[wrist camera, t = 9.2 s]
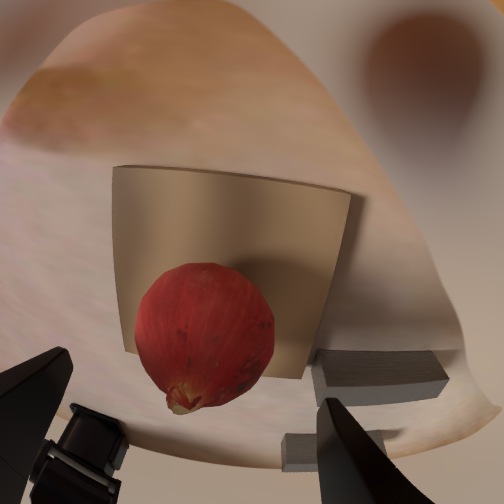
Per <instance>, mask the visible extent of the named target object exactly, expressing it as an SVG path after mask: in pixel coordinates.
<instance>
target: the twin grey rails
mask: <svg viewBox="0 0 504 504" xmlns="http://www.w3.org/2000/svg"><path fill="white" fill-rule="evenodd" d="M311 372H312V378H313V384H314V390H315V396H316V402H317V407H320V406H321V404H322V402H323V400H324V399H325V398H327V397H335V398H338V399H339V400H340V402H341V403H342V404H343V405H344V407H346V406H368V405H382V404H393V403H403V402H411V401H418V400H425V399H431V398H437V397H438V396H439V394H440V393H441V391H442V390H443V388H444V387H445V386H446V384H447V383H448V381H449V380H450V379H449V377H448V375H447V374H446V372H445V371H444V369H443V368H442V366H441V364H440V363H439V361H438V360H437V358H436V357H435V355H434V354H433V352H432V351H416V352H358V351H332V350H318V352H317V355H316V358H315V361H314V364H313V366H312V369H311ZM366 433H367V434H368V435H369V436H370V437H371V438H372V440H373V441H374V442H375V443H376V444H377V445H378V447H379V448H380V449H381V450H382V451H383V452H384V454H385V455H386V456H387V452H386V449H385V446H384V442H383V439H382V436H381V433H380V430H375V431H366ZM281 459H282V472H317V471H318V464H317V434H285V436H284V438H283V440H282V442H281Z"/></svg>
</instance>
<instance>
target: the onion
mask: <svg viewBox="0 0 504 504" xmlns="http://www.w3.org/2000/svg"><path fill="white" fill-rule="evenodd" d="M134 340H135V344H136V347H137V351H138V354H139V357H140V360H141V362H142V365H143V367H144V369H145V371H146V372H147V374H148V375H149V376H150V378H151V379H152V380H153V382H154V383H155V384H156V385H157V387H158V388H159V389H160V390H161V391H163V392H164V393H166V394H167V396H166V401H167V405H168V408H169V409H171V410H172V412H173V413H174V414H178V415H183V414H188V413H191V412H194V411H196V410H198V409H200V408H203V407H214V406H221V405H223V404H226V403H228V402H230V401H231V400H233V399H235V398H237V397H239V396H240V395H242V394H244V393H245V392H247V391H248V390H250V389H251V388H252V387H253V386H254V385H255V384H256V382H257V381H258V379H259V378H260V376H261V375H262V373H263V372H264V370H265V369H266V367H267V366H268V364H269V362H270V360H271V358H272V356H273V354H274V344H275V319H274V315H273V313H272V311H271V309H270V307H269V305H268V304H267V302H266V300H265V299H264V297H263V295H262V294H261V292H260V290H259V289H258V287H257V286H256V285H254V284H253V283H252V282H251V281H250V280H248V279H247V278H246V277H245V276H243V275H242V274H241V273H240V272H239V271H237V270H234V269H231V268H228V267H225V266H222V265H219V264H216V263H213V262H210V263H186V264H184V265H181V266H179V267H176V268H174V269H171V270H169V271H166V272H164V273H163V274H162V275H161V276H160V277H159V278H158V279H157V280H156V281H155V282H154V283H153V285H152V286H151V287H150V288H149V290H148V291H147V292H146V293H145V295H144V296H143V297H142V299H141V302H140V305H139V308H138V313H137V318H136V324H135V335H134Z"/></svg>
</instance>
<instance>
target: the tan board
mask: <svg viewBox="0 0 504 504" xmlns="http://www.w3.org/2000/svg"><path fill="white" fill-rule="evenodd" d="M350 199H351V194H349V193H348V192H346V191H344V190H340V189H335V188H329V187H324V186H318V185H313V184H307V183H301V182H295V181H288V180H282V179H275V178H268V177H261V176H253V175H245V174H237V173H228V172H219V171H209V170H198V169H186V168H173V167H157V166H137V165H123V166H117V167H113V176H112V238H113V257H114V271H115V282H116V292H117V300H118V308H119V316H120V323H121V329H122V335H123V341H124V347H125V351H126V352H130V353H134V354H138V351H137V347H136V344H135V340H134V335H135V324H136V318H137V313H138V308H139V305H140V302H141V299H142V297H143V296H144V295H145V293H146V292H147V291H148V290H149V288H150V287H151V286H152V285H153V283H154V282H155V281H156V280H157V279H158V278H159V277H160V276H161V275H162V274H163V273H164V272H166V271H169V270H171V269H174V268H176V267H179V266H181V265H184V264H186V263H210V262H213V263H216V264H219V265H222V266H225V267H228V268H231V269H234V270H237V271H239V272H240V273H241V274H242V275H243V276H245V277H246V278H247V279H248V280H250V281H251V282H252V283H253V284H254V285H256V286H257V287H258V289H259V290H260V292H261V294H262V295H263V297H264V299H265V300H266V302H267V304H268V305H269V307H270V309H271V311H272V313H273V315H274V319H275V344H274V354H273V356H272V358H271V360H270V362H269V364H268V366H267V367H266V369H265V370H264V372H263V373H262V375H261V376H265V377H276V378H288V379H302V376H303V373H304V370H305V367H306V364H307V361H308V358H309V355H310V352H311V349H312V346H313V343H314V340H315V337H316V334H317V330H318V327H319V324H320V321H321V317H322V314H323V311H324V307H325V304H326V300H327V296H328V293H329V289H330V286H331V282H332V278H333V274H334V270H335V266H336V262H337V258H338V254H339V250H340V246H341V242H342V237H343V233H344V228H345V224H346V219H347V214H348V209H349V204H350ZM138 355H139V354H138Z"/></svg>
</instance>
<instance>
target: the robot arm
mask: <svg viewBox="0 0 504 504" xmlns="http://www.w3.org/2000/svg"><path fill="white" fill-rule="evenodd" d="M72 372H73V363H72V360H71V357H70V354H69V352H68V350H67V349H65V348H62V347H60V346H58V347H55V348H53V349H51V350H49V351H46V352H44V353H42V354H40V355H38V356H36V357H34V358H31V359H29V360H27V361H25V362H23V363H21V364H19V365H16V366H14V367H12V368H10V369H8V370H6V371H4V372H1V373H0V504H20V503H21V499H22V496H23V493H24V490H25V487H26V484H27V481H28V478H29V475H30V478H29V481H30V482H32V483H33V484H34V486H33V488H32V491H31V493H30V502H31V504H117V499H118V495H119V490H120V486H121V481H120V480H118V479H114V478H112V476H113V473H114V471H115V470H117V471H118V470H120V467H121V464H122V462H123V459H124V457H125V454H126V451H127V449H129V444H128V442H127V440H126V437H125V435H124V433H123V430H122V428H121V426H120V423H119V422H118V421H116V420H114V419H111V418H108V417H106V416H103V415H100V414H97V413H95V412H92V411H90V410H87V409H85V408H82V407H80V406H78V405H75V404H73V403H71V404H70V408H71V410H72V412H73V416H72V418H71V419H70V421H69V423H68V425H67V426H66V428H65V430H64V432H63V434H62V435H61V437H60V439H59V441H58V443H57V444H56V443H55V442H54V441H53V440H52V439H51V440H50V441H49V440H46V439H44V438H45V436H46V433H47V431H48V429H49V427H50V424H51V422H52V420H53V418H54V416H55V414H56V412H57V410H58V408H59V405H60V403H61V401H62V398H63V396H64V393H65V390H66V387H67V385H68V382H69V380H70V377H71V374H72ZM50 454H51V455H53V456H54V459H53V458H52V457H50ZM317 464H318V473H319V482H320V491H321V500H322V504H435V503H434V502H432V501H431V500H430V499H429V498H427V497H426V496H425V495H424V494H423V493H421V492H420V491H419V490H418V489H417V488H416V487H415V486H414V485H413V484H412V483H411V482H410V481H409V480H408V479H407V478H406V477H405V476H404V475H403V474H402V473H401V472H400V471H399V469H398V468H396V466H395V465H394V464H393V463H392V462H391V460H390V459H389V458H388V457H387V456H386V455H385V454H384V452H383V451H382V450H381V449H380V448H379V447H378V445H377V444H376V443H375V442H374V441H373V440H372V438H371V437H370V436H369V435H368V434H367V433H366V431H365V430H364V429H363V428H362V427H361V426H360V424H359V423H358V422H357V421H356V420H355V418H354V417H353V416H352V415H351V414H350V412H349V411H348V410H347V409H346V408H345V407H344V405H343V404H342V403H341V402H340V400H339V399H338V398H335V397H327V398H325V399H324V400H323V402H322V404H321V406H320V408H319V410H318V412H317Z"/></svg>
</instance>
